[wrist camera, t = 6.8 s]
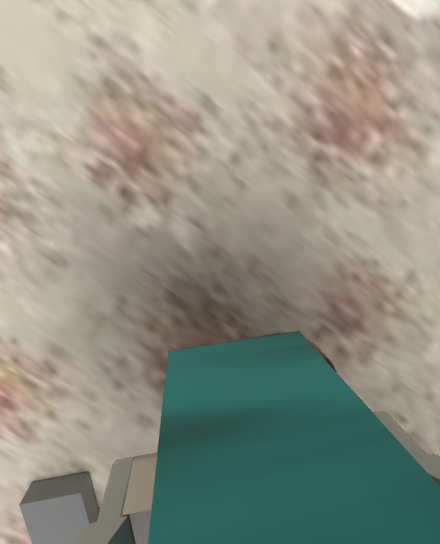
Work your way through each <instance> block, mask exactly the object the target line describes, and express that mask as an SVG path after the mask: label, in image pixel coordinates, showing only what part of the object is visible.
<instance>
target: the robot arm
mask: <svg viewBox="0 0 440 544" xmlns="http://www.w3.org/2000/svg"><path fill="white" fill-rule="evenodd" d="M373 413H374V415H375V416H376V417H377V418H378V419H379V420H380V421H381V422H382V423H383V424H384V426H385V427H386V428H387V429H388V430H389V431H390V432H391V433H392V434H393V435H394V436H395V438H396V439H397V440H398V441H399V442H400V443H401V444H402V445H403V446H404V447H405V449H406V450H407V451H408V452H409V453H410V454H411V455H412V456H413V457H414V458H415V460H416V461H417V462H418V463H419V464H420V465H421V466H422V467H423V468H424V469H425V471H426V472H427V473H428V474H429V475H430V476H431V477H432V478H433V479H434V480H435V482H436V483H437V484H438V485H439V486H440V456H438V455H435V454H430V455H428V454H427V453H426V452H425V451H424V450H423V449H422V448H421V447H420V446H419V445H418V444H417V443H416V442H415V441H414V440H413V439H412V438H411V437H410V436H409V435H408V434H407V433H406V432H405V431H404V430H403V429H402V428H401V427H400V426H399V425H398V424H397V423H396V422H395V421H394V419H393V418H392V417H391V416H390V415H389V414H388V413H386V412H384V411H378V412H373ZM156 463H157V453H154V454H147V455H141V456H135V457H131V458H125V459H118V460H116V461H115V462H114V464H113V466H112V469H111V473H110V477H109V480H108V484H107V487H106V491H105V494H104V498H103V502H102V505H101V509H100V512H99V516H98V519H97V522H94V523H90V524H89V526H88V527H87V528H86V529H85V530H84V531H83V533H82V534H81V535H80V536H79V537H78V539H77V540H76V541H75V542H74V543H73V544H148V537H149V527H150V518H151V509H152V500H153V490H154V481H155V472H156Z"/></svg>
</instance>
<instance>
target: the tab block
mask: <svg viewBox="0 0 440 544" xmlns="http://www.w3.org/2000/svg"><path fill="white" fill-rule="evenodd" d="M148 544H440V486H439V485H438V484H437V483H436V482H435V480H434V479H433V478H432V477H431V476H430V475H429V474H428V473H427V472H426V471H425V469H424V468H423V467H422V466H421V465H420V464H419V463H418V462H417V461H416V460H415V458H414V457H413V456H412V455H411V454H410V453H409V452H408V451H407V450H406V449H405V447H404V446H403V445H402V444H401V443H400V442H399V441H398V440H397V439H396V438H395V436H394V435H393V434H392V433H391V432H390V431H389V430H388V429H387V428H386V427H385V426H384V424H383V423H382V422H381V421H380V420H379V419H378V418H377V417H376V416H375V415H374V413H373V412H372V411H371V410H370V409H369V408H368V407H367V406H366V405H365V404H364V402H363V401H362V400H361V399H360V398H359V397H358V396H357V395H356V394H355V393H354V391H353V390H352V389H351V388H350V387H349V386H348V385H347V384H346V383H345V382H344V380H343V379H342V378H341V377H340V376H339V375H338V374H337V373H336V372H335V371H334V369H333V368H332V367H331V366H330V365H329V364H328V363H327V362H326V361H325V360H324V359H323V357H322V356H321V355H320V354H319V353H318V352H317V351H316V350H315V349H314V348H313V346H312V345H311V344H310V343H309V342H308V341H307V340H306V339H305V338H304V337H303V335H302V334H301V333H300V332H299V331H297V332H290V333H284V334H277V335H271V336H264V337H258V338H252V339H245V340H239V341H232V342H226V343H219V344H213V345H207V346H200V347H194V348H187V349H181V350H174V351H168V361H167V370H166V379H165V388H164V398H163V407H162V416H161V425H160V435H159V444H158V453H157V463H156V472H155V481H154V490H153V500H152V509H151V518H150V527H149V537H148Z"/></svg>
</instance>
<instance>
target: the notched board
mask: <svg viewBox="0 0 440 544" xmlns="http://www.w3.org/2000/svg"><path fill="white" fill-rule="evenodd" d="M20 508H21V511H22V514H23V517H24V520H25V523H26V526H27V529H28V532H29V535H30V538H31V541H32V544H73V543H74V542H75V541H76V540H77V539H78V537H79V536H80V535H81V534H82V533H83V531H84V530H85V529H86V528H87V527H88V526H89V524H90V523H94V522H97V519H98V516H99V509H98V505H97V501H96V497H95V493H94V490H93V486H92V482H91V478H90V475H89V472H85V473H79V474H74V475H69V476H63V477H58V478H53V479H48V480H42V481H37V482H32V484H31V485H30V487H29V489H28V491H27V492H26V494H25V496H24V498H23V500H22V501H21V503H20Z"/></svg>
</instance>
